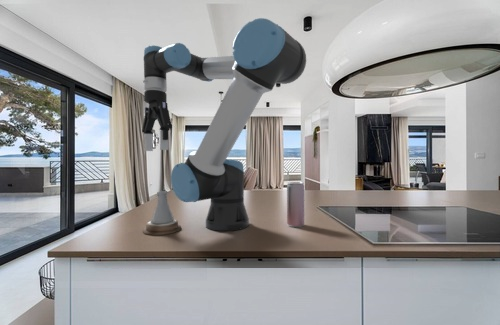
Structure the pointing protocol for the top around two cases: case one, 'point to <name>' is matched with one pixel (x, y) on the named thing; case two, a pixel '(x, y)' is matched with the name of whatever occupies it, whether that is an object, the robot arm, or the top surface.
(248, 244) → the top surface
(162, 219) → the flask
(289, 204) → the beverage can
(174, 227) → the pedestal
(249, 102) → the robot arm
